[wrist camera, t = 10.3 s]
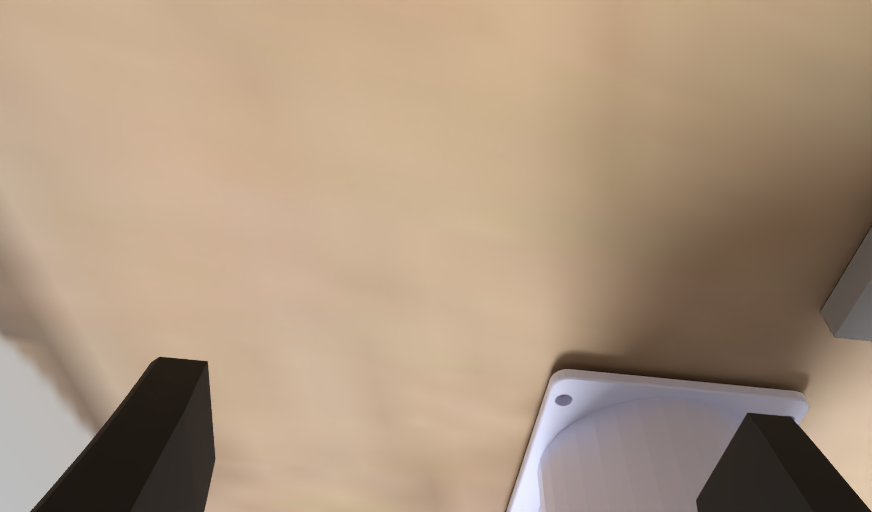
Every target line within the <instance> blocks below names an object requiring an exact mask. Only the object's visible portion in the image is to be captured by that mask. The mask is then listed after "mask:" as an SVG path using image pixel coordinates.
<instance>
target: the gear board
mask: <svg viewBox="0 0 872 512" xmlns="http://www.w3.org/2000/svg"><path fill="white" fill-rule="evenodd" d="M820 313H821V315H822V316H823V318H824V320H825V322H826V324H827V325H828V327H829V329H830V331H831V333H832V334H833V336H834V337H836V338H846V339H856V340H866V341H872V227H871V229H870V230H869V232H868V234H867V235H866V237H865V239H864V240H863V242H862V244H861V245H860V247H859V249H858V250H857V252H856V253H855V255H854V257H853V258H852V260H851V262H850V263H849V265H848V267H847V268H846V270H845V272H844V273H843V275H842V277H841V278H840V280H839V282H838V283H837V285H836V287H835V288H834V290H833V292H832V293H831V295H830V297H829V298H828V300H827V302H826V303H825V305H824V306H823V308H822V310H821V311H820Z"/></svg>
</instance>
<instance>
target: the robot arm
mask: <svg viewBox="0 0 872 512" xmlns="http://www.w3.org/2000/svg"><path fill="white" fill-rule="evenodd" d="M565 394H566V395H565ZM560 395H565V396H560ZM808 409H809V404H808V401H807V399H806V397H805V395H804V394H802V393H801V392H797V391H790V390H780V389H769V388H759V387H749V386H738V385H728V384H718V383H708V382H697V381H687V380H677V379H667V378H656V377H646V376H636V375H625V374H615V373H605V372H595V371H584V370H574V369H563V370H560V371H557V372H556V373H554V374H553V375H552V377H551V378H550V380H549V384H548V387H547V390H546V393H545V396H544V399H543V402H542V405H541V408H540V411H539V414H538V417H537V420H536V423H535V426H534V429H533V432H532V435H531V438H530V441H529V444H528V447H527V450H526V453H525V456H524V459H523V463H522V466H521V469H520V472H519V475H518V478H517V481H516V484H515V487H514V490H513V493H512V496H511V499H510V502H509V505H508V508H507V511H506V512H871V510H870V509H869V508H868V507H867V506H866V504H865V503H864V502H863V501H862V500H861V499H860V497H859V496H858V495H857V494H856V493H855V491H854V490H853V489H852V488H851V487H850V486H849V484H848V483H847V482H846V481H845V480H844V478H843V477H842V476H841V475H840V474H839V472H838V471H837V470H836V469H835V468H834V466H833V465H832V464H831V463H830V462H829V460H828V459H827V458H826V457H825V456H824V455H823V453H822V452H821V451H820V450H819V449H818V447H817V446H816V445H815V444H814V443H813V442H812V440H811V439H810V438H809V437H808V436H807V435H806V433H805V432H804V431H803V430H802V429H801V428H800V427H799V424H800V422H801V421H802V419H803V418H804V416H805V415H806V413H807V412H808ZM214 463H215V448H214V436H213V423H212V410H211V397H210V385H209V372H208V361H198V360H188V359H177V358H167V357H159V358H157V359H156V360H154V361H152V362H151V363H150V365H149V366H148V368H147V369H146V370H145V372H144V373H143V375H142V376H141V377H140V379H139V380H138V381H137V383H136V384H135V385H134V387H133V388H132V389H131V391H130V392H129V393H128V395H127V396H126V397H125V399H124V400H123V401H122V403H121V404H120V405H119V407H118V408H117V409H116V410H115V412H114V413H113V414H112V416H111V417H110V418H109V419H108V421H107V422H106V423H105V424H104V426H103V427H102V428H101V429H100V431H99V432H98V433H97V434H96V436H95V437H94V438H93V439H92V440H91V442H90V443H89V444H88V445H87V447H86V448H85V449H84V450H83V451H82V453H81V454H80V455H79V456H78V457H77V458H76V460H75V461H74V462H73V463H72V464H71V465H70V467H69V468H68V469H67V470H66V471H65V472H64V474H63V475H62V476H61V477H60V478H59V480H58V481H57V482H56V483H55V484H54V485H53V487H52V488H51V489H50V490H49V491H48V492H47V493H46V495H45V496H44V497H43V498H42V499H41V500H40V501H39V502H38V504H37V505H36V506H35V507H34V508H33V509H32V510H31V511H30V512H204V510H205V505H206V501H207V496H208V491H209V487H210V482H211V477H212V472H213V468H214Z"/></svg>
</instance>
